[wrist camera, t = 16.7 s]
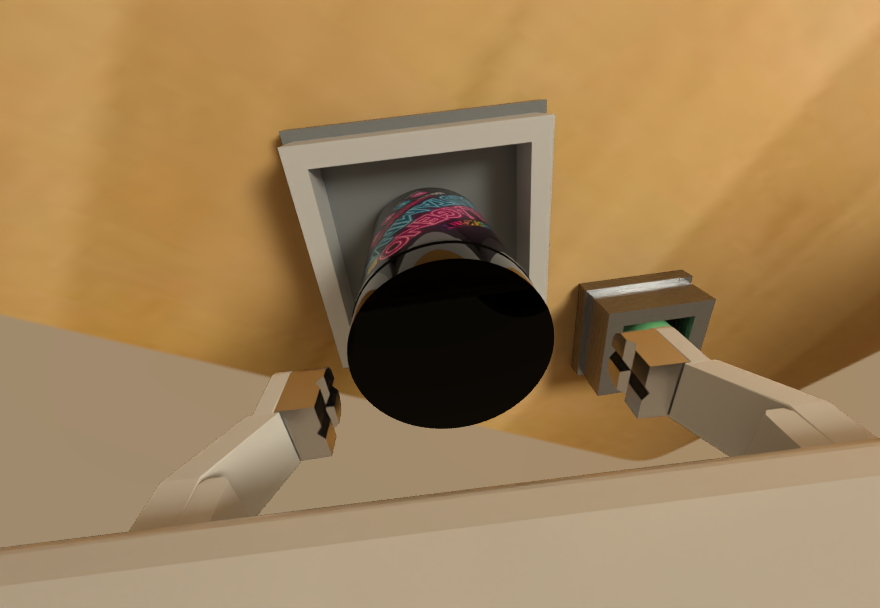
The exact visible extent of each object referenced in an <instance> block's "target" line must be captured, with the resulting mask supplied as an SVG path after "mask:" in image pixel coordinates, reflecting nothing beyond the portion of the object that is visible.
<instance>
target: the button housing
mask: <svg viewBox="0 0 880 608" xmlns="http://www.w3.org/2000/svg"><path fill="white" fill-rule="evenodd" d="M692 277H693V276H692V275H690V274H688V273H687V272H685V271H683V270H678V271H670V272H663V273H656V274H648V275H641V276H634V277H626V278H619V279H612V280H604V281H597V282H589V283H582V284H579V294H578V305H577V316H576V326H575V337H574V347H573V358H572V368H573V370H574V371H575V373H576V374H577V375H583V374H584V376H585V377H586V379H587V380H588V382H589V383H590V385H591V386H592V388H593V390H594V391H595V393H596V394H597V396H599V395H606V394H613V393H620V392H621V391H619V390H617V389H616V387H615V386H614V384H613V383H612V381H611V378H610V376H609V369H608V363H609V357H610V356H611V355H612V354H613V353H614V352H615V351H616V350H615V349H614V348H613V346H612V345H611V344H612V339H613V337H614V335H615V333H621V332H623V328H624V326H628V325H635V324H642V323H649V322H656V321H663V320H665V321H666V322H667V323H668V324H669V325H671V326H672V327H673V328H675V329H676V330H677V331H678V332H679V333H680V334H682V335H683V336H684V337H685V338H686V339H687V340H688V341H689V342H691V343H692V344H693V345H694V346H695V347H696V348H697V349H699V350H701V347H702V343H703V340H704V337H705V333H706V330H707V327H708V324H709V320H710V317H711V314H712V311H713V307H714V304H715V301H716V299H715V298H713V297H712V296H710V295H709V294H707V293H705V292H704V291H702V290H701V289H699V288H697V287H696V286H694V285H693V284H691V281H692Z"/></svg>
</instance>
